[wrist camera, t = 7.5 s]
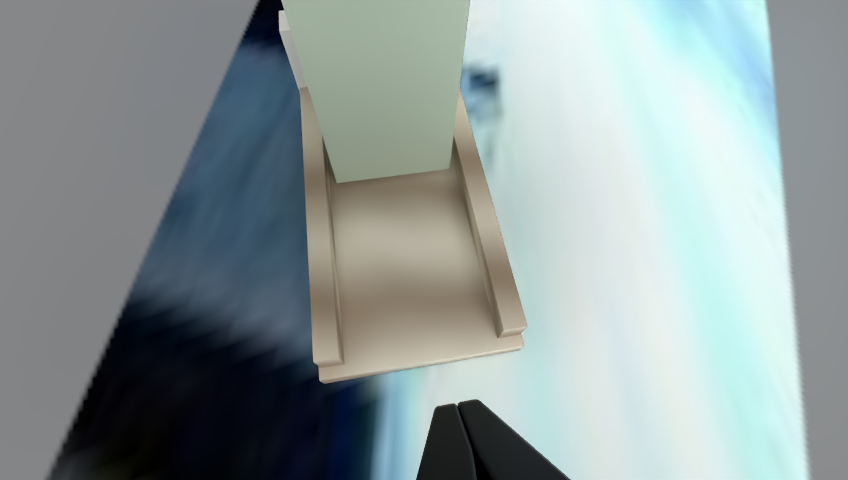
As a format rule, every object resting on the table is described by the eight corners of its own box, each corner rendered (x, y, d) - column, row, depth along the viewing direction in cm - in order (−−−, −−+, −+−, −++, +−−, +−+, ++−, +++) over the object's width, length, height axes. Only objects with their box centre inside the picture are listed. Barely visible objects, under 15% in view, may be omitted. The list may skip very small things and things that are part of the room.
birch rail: (519, 350, 19) (533, 337, 17) (323, 383, 18) (311, 375, 16) (448, 86, 26) (451, 53, 24) (307, 101, 26) (297, 68, 23)
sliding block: (449, 168, 22) (502, -264, 9) (336, 183, 21) (204, -254, 8) (432, 100, 24) (454, -331, 11) (330, 111, 24) (217, -328, 10)
